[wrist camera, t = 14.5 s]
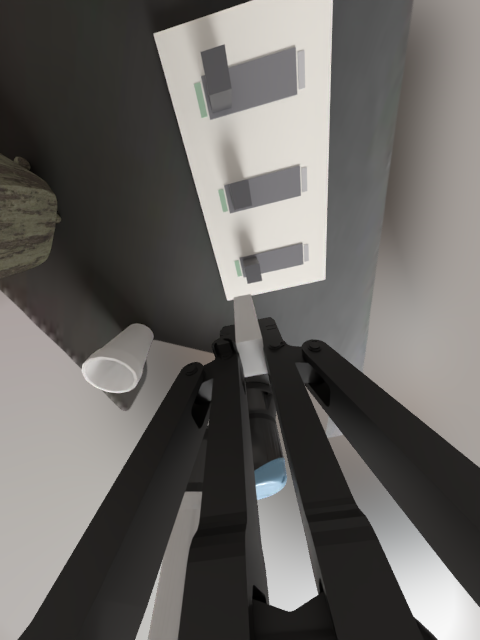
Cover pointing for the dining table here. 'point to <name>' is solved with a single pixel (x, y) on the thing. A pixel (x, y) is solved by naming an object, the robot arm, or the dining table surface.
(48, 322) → the dining table surface
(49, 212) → the tabletop clock
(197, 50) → the breaker panel
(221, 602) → the robot arm
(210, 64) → the handle
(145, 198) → the dining table surface
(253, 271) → the handle
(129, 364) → the foam cup
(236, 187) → the handle
